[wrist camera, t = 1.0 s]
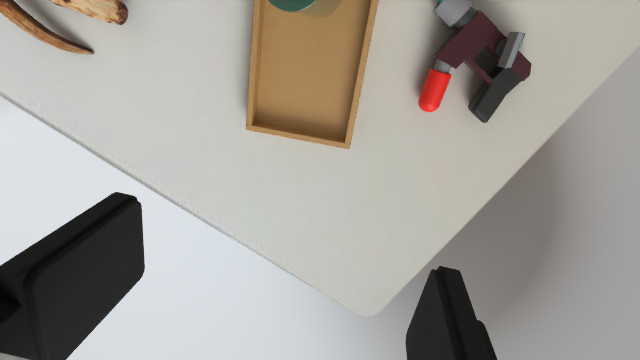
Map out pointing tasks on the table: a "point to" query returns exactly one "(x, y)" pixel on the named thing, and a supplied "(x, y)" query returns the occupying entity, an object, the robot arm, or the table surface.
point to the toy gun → (463, 47)
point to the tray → (308, 71)
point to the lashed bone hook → (93, 3)
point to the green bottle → (307, 7)
